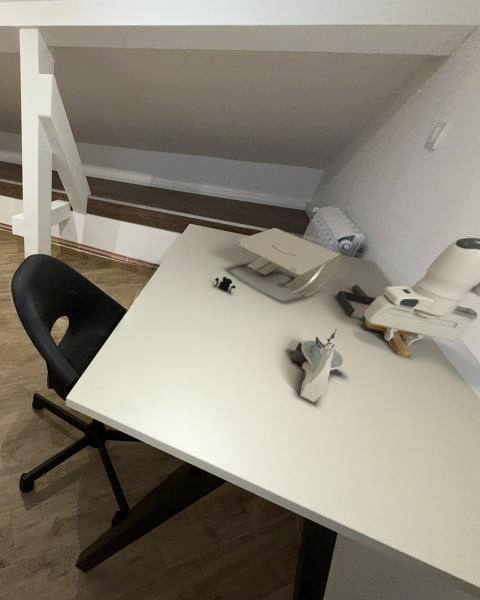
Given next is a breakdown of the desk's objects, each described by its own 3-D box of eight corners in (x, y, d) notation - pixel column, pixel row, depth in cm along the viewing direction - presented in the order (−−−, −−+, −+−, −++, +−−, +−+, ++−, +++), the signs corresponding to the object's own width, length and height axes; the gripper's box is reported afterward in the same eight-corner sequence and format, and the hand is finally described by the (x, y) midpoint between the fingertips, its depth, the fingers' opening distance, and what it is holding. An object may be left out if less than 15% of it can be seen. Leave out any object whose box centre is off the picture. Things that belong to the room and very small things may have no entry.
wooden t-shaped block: (403, 335, 91) (410, 328, 89) (421, 365, 83) (430, 358, 81) (360, 325, 94) (366, 318, 92) (373, 353, 86) (380, 346, 84)
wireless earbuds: (211, 287, 107) (216, 274, 104) (215, 284, 109) (220, 272, 106) (231, 296, 103) (236, 283, 100) (234, 293, 105) (240, 280, 102)
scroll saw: (365, 383, 59) (298, 354, 64) (335, 418, 65) (276, 388, 70) (366, 334, 72) (310, 313, 78) (341, 367, 78) (291, 345, 84)
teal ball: (372, 314, 96) (380, 316, 93) (368, 324, 97) (375, 326, 94) (361, 311, 97) (368, 313, 94) (357, 321, 97) (364, 323, 94)
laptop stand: (323, 294, 109) (348, 254, 101) (282, 307, 100) (305, 264, 91) (261, 262, 128) (277, 226, 119) (220, 270, 118) (235, 232, 110)
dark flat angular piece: (411, 332, 94) (419, 324, 92) (347, 317, 98) (353, 309, 96) (379, 296, 112) (384, 288, 110) (326, 284, 116) (330, 277, 114)
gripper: (473, 304, 79) (434, 345, 86) (379, 285, 83) (350, 325, 91) (491, 318, 74) (448, 360, 81) (390, 297, 78) (358, 338, 86)
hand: (395, 341), depth 86 cm, fingers closed on wooden t-shaped block, 2 cm apart
